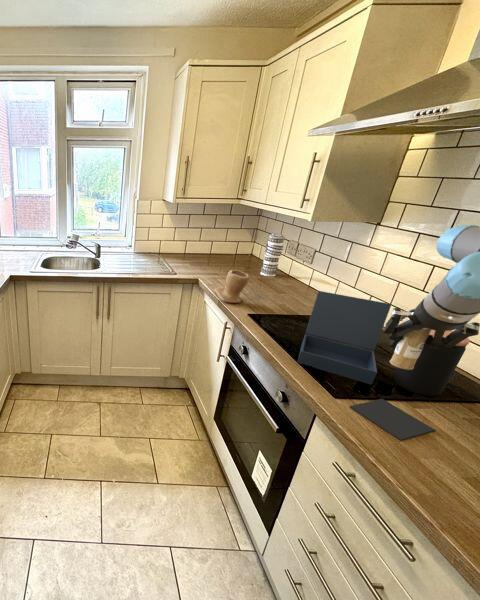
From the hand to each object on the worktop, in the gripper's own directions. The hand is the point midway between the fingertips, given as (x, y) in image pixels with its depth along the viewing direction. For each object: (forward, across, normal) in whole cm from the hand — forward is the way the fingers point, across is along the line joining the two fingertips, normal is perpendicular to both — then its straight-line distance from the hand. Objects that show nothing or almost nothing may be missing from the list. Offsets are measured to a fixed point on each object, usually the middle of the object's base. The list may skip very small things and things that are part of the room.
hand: (405, 345), depth 82 cm
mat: (+8, +2, -18) cm, 20 cm away
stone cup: (+51, -54, +26) cm, 79 cm away
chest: (+24, -11, -2) cm, 27 cm away
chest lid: (+21, -11, +14) cm, 27 cm away
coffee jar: (+24, +9, -2) cm, 26 cm away
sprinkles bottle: (0, 0, -6) cm, 6 cm away
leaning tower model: (+93, -47, +67) cm, 124 cm away
